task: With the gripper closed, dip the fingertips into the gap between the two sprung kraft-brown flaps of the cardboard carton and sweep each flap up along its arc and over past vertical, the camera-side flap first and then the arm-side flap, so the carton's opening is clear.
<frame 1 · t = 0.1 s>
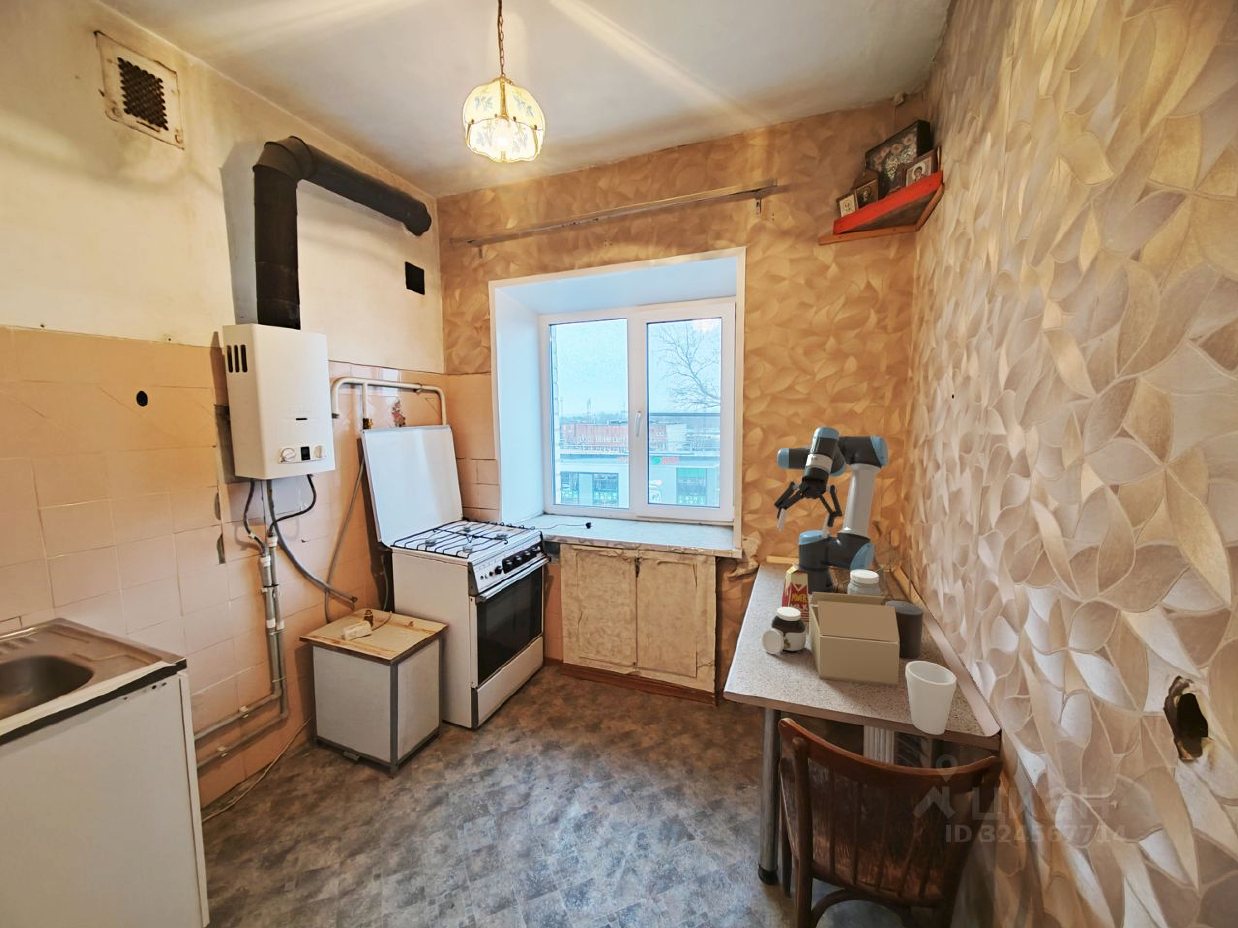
hand: (800, 532, 136), 36 cm above the table, tool tilted 35°, fingers open, 13 cm apart
carton: (849, 662, 129), on the table
foam cup: (927, 725, 103), on the table
spread jar: (783, 649, 138), on the table
front flap: (857, 620, 120), point 16 cm above the table, hinge at 55.0°
back flap: (845, 600, 134), point 16 cm above the table, hinge at 45.0°
pillar candle: (901, 651, 135), on the table
jar: (862, 625, 151), on the table
milk carton: (796, 618, 157), on the table
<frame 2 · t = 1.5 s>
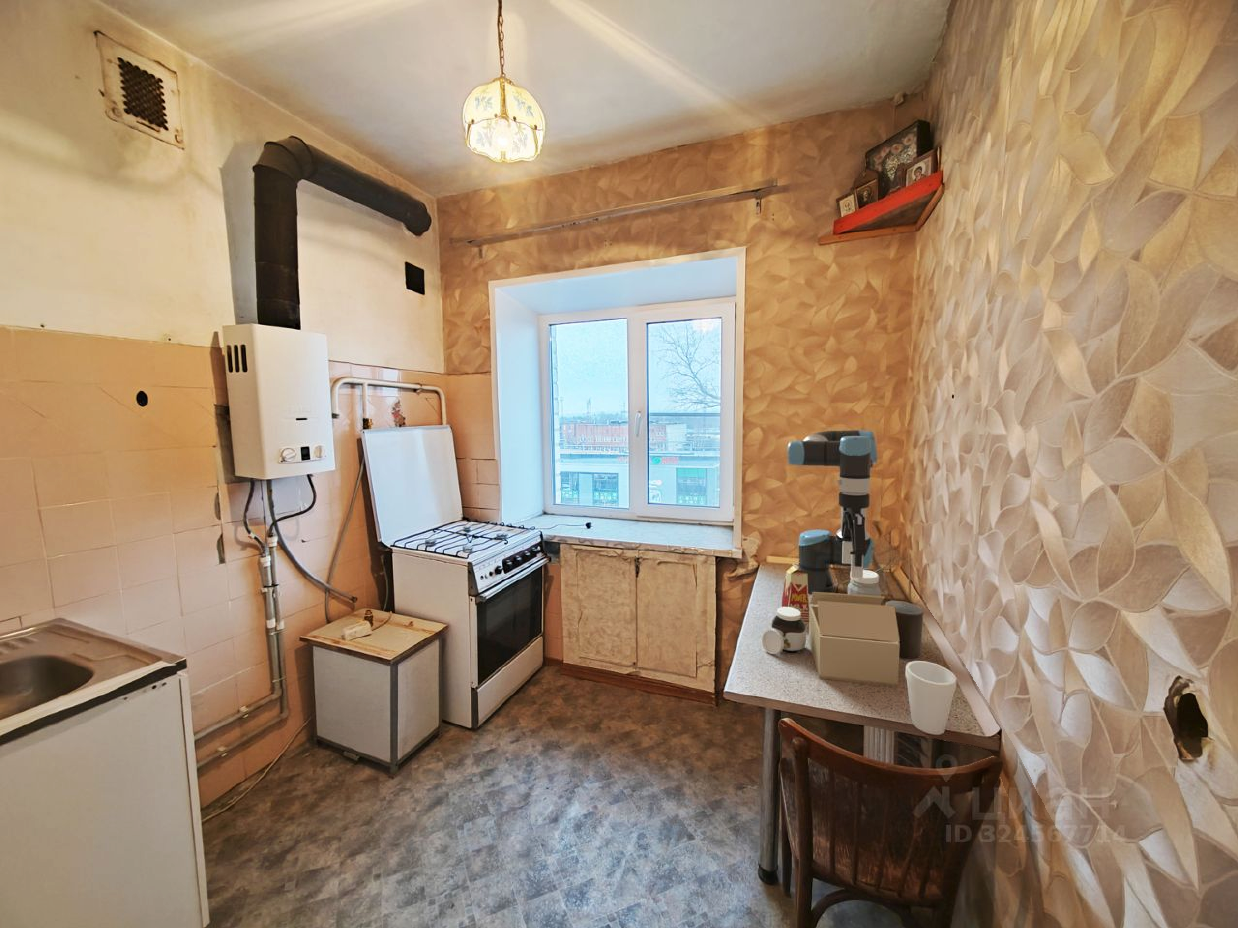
hand: (851, 569, 126), 28 cm above the table, tool pointing down, fingers open, 10 cm apart
nothing on the table moved.
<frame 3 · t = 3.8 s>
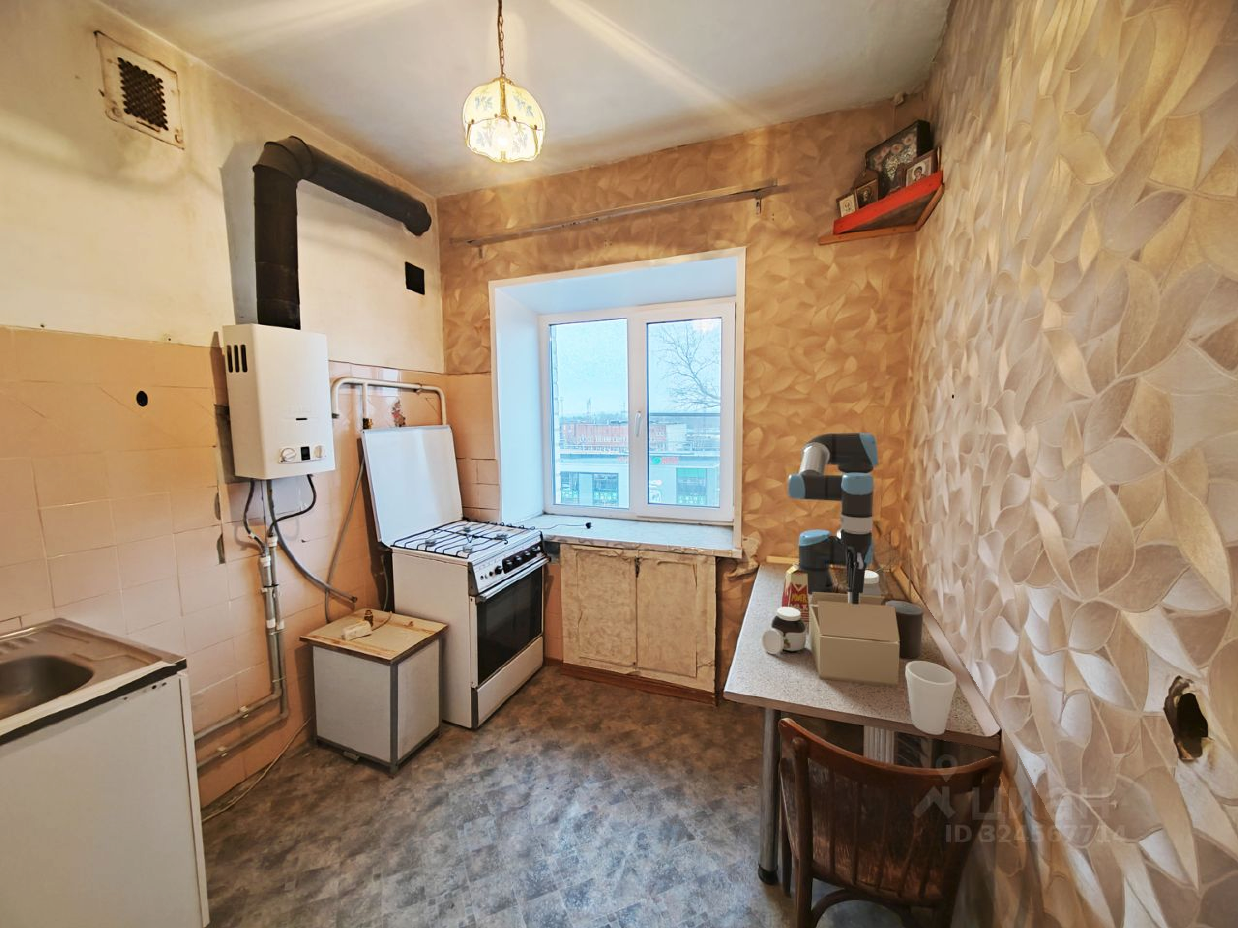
hand: (853, 613, 124), 17 cm above the table, tool pointing down, fingers closed
front flap: (857, 620, 120), point 16 cm above the table, hinge at 55.2°, touching gripper
everything else where it was.
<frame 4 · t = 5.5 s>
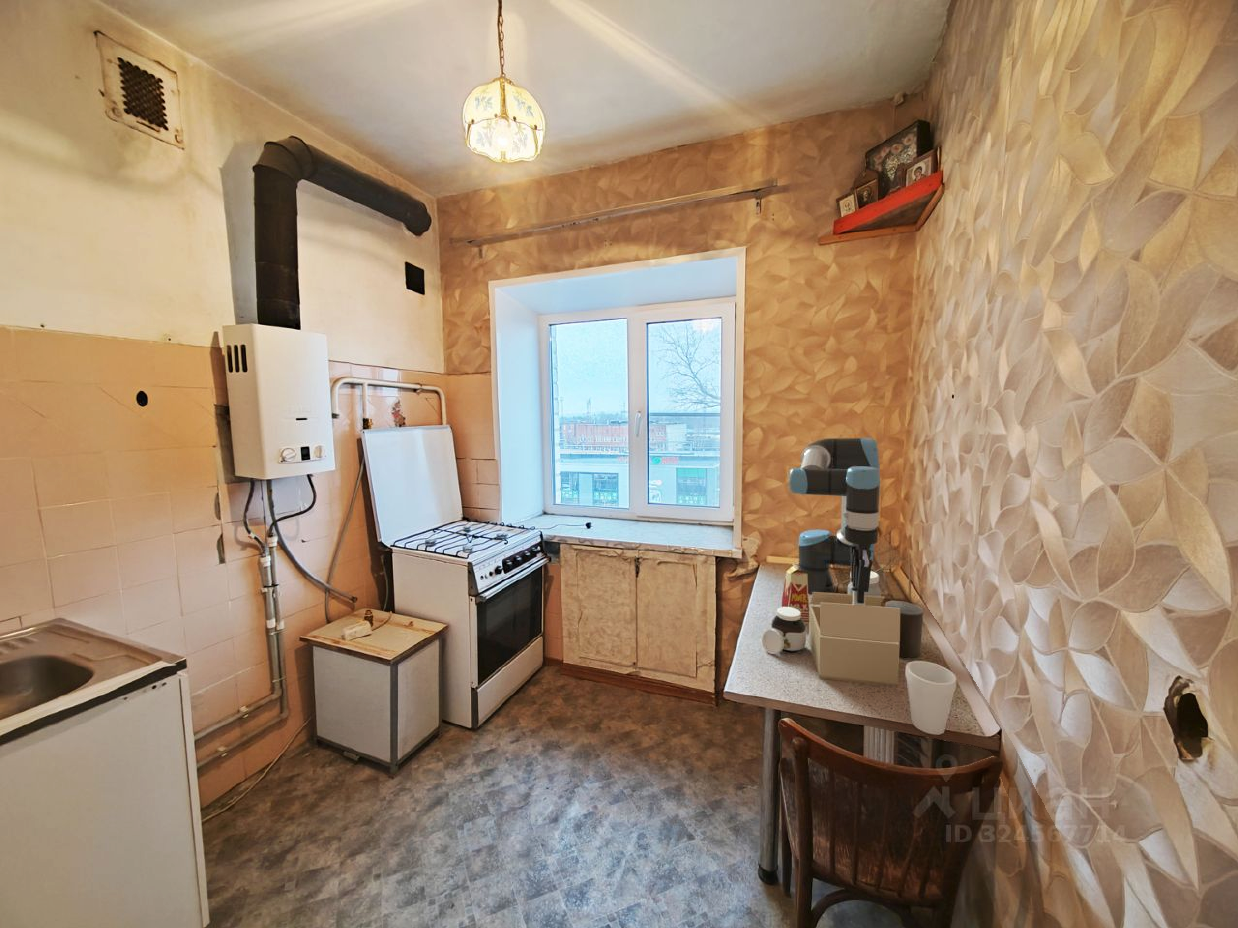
hand: (858, 612, 119), 19 cm above the table, tool pointing down, fingers closed
front flap: (859, 621, 118), point 17 cm above the table, hinge at 85.5°, touching gripper
everything else where it was.
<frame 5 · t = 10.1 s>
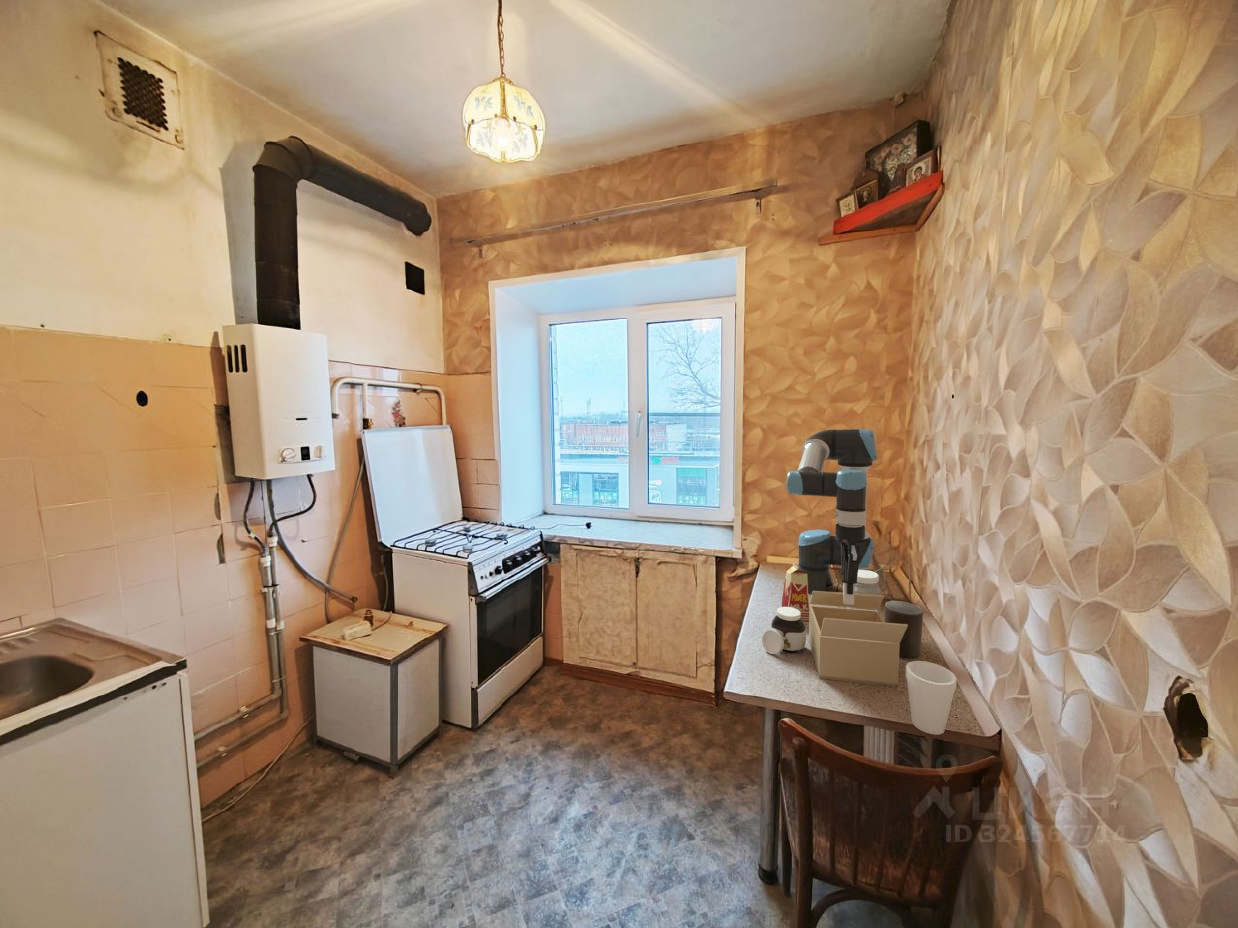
hand: (848, 603, 130), 17 cm above the table, tool pointing down, fingers closed
front flap: (861, 630, 116), point 16 cm above the table, hinge at 125.2°
back flap: (845, 599, 134), point 16 cm above the table, hinge at 47.2°, touching gripper
everything else where it was.
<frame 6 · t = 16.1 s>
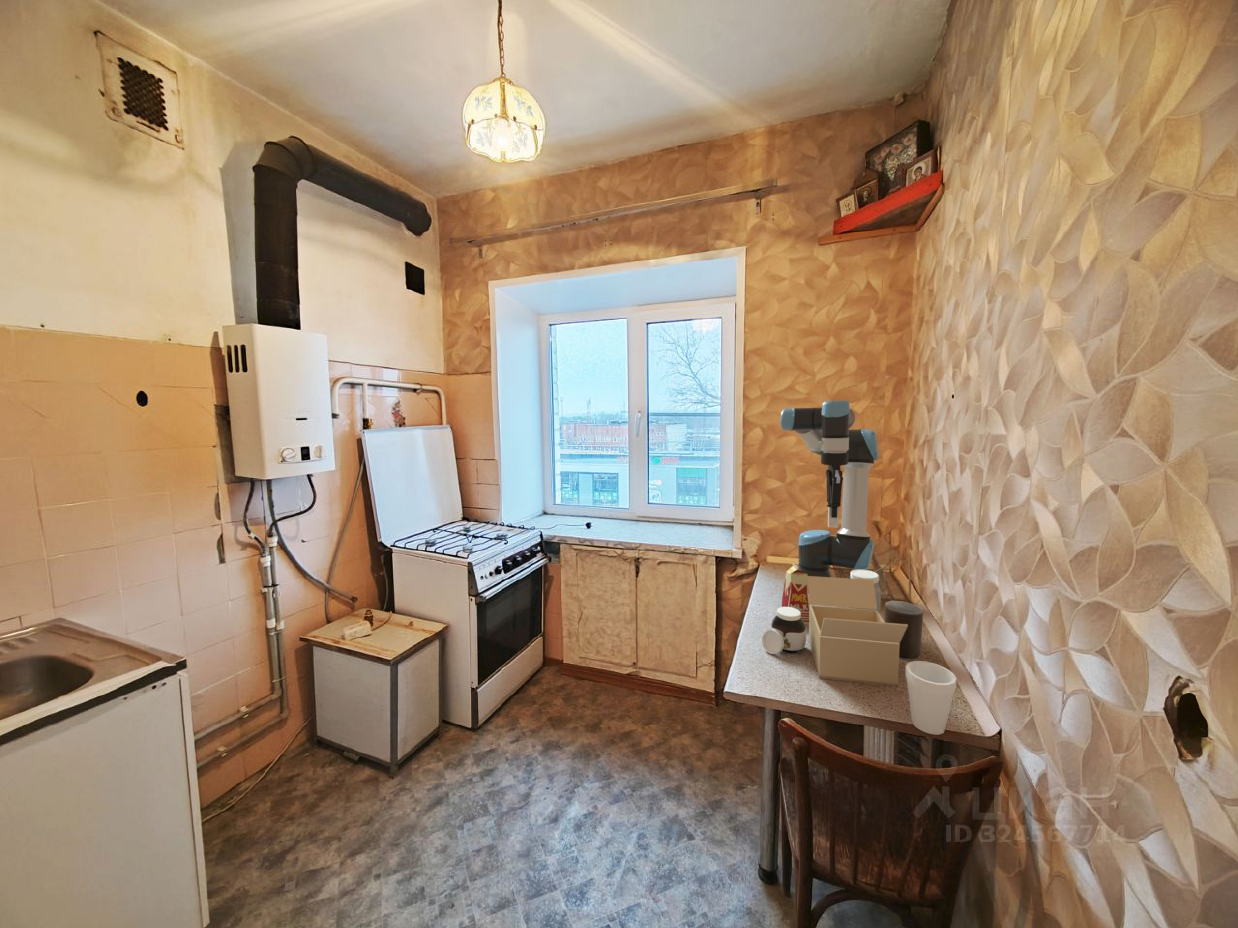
hand: (832, 526, 139), 36 cm above the table, tool pointing down, fingers closed
back flap: (841, 592, 139), point 16 cm above the table, hinge at 126.2°
everything else where it was.
at the end: front flap at +125° (first picture: +55°); back flap at +126° (first picture: +45°) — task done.
